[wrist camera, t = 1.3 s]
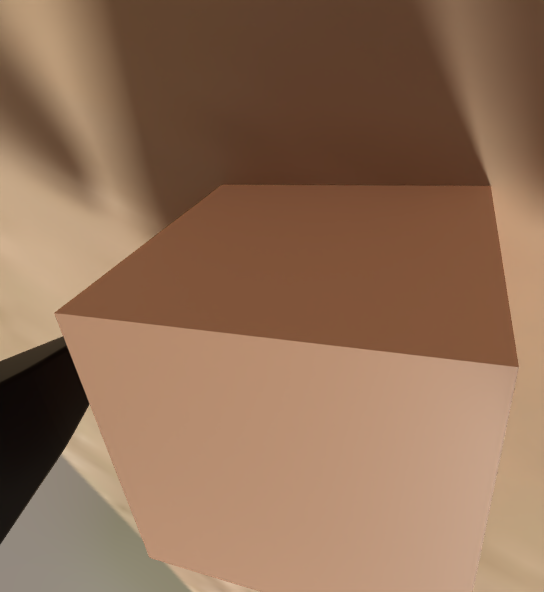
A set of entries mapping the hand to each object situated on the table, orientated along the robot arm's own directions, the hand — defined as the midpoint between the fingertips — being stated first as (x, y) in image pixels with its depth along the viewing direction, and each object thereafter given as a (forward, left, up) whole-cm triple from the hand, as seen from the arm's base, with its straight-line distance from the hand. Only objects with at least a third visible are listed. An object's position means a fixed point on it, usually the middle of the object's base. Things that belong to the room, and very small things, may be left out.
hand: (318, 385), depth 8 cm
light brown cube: (0, 0, -3) cm, 3 cm away
